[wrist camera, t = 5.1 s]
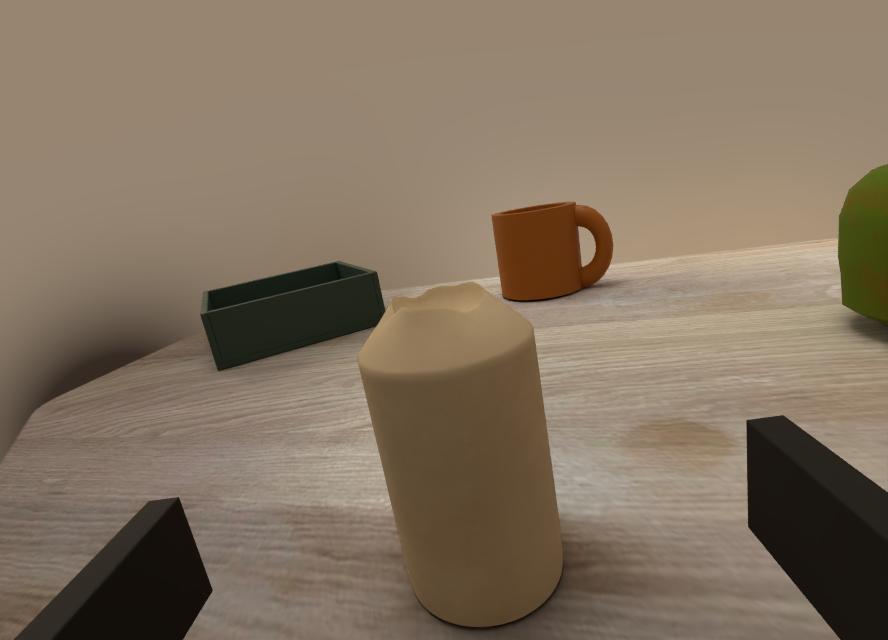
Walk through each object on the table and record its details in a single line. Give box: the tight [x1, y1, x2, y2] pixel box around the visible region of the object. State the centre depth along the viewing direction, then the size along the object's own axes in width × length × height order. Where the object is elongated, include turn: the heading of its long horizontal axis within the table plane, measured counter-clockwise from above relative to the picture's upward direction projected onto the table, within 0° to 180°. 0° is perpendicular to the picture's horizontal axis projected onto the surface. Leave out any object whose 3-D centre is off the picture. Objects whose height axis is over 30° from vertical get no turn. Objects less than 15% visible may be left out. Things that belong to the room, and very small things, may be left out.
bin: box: [200, 261, 385, 370], centre depth 57 cm, size 17×17×6 cm
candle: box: [358, 282, 563, 627], centre depth 17 cm, size 6×6×10 cm
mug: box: [492, 202, 613, 300], centre depth 53 cm, size 9×12×9 cm
